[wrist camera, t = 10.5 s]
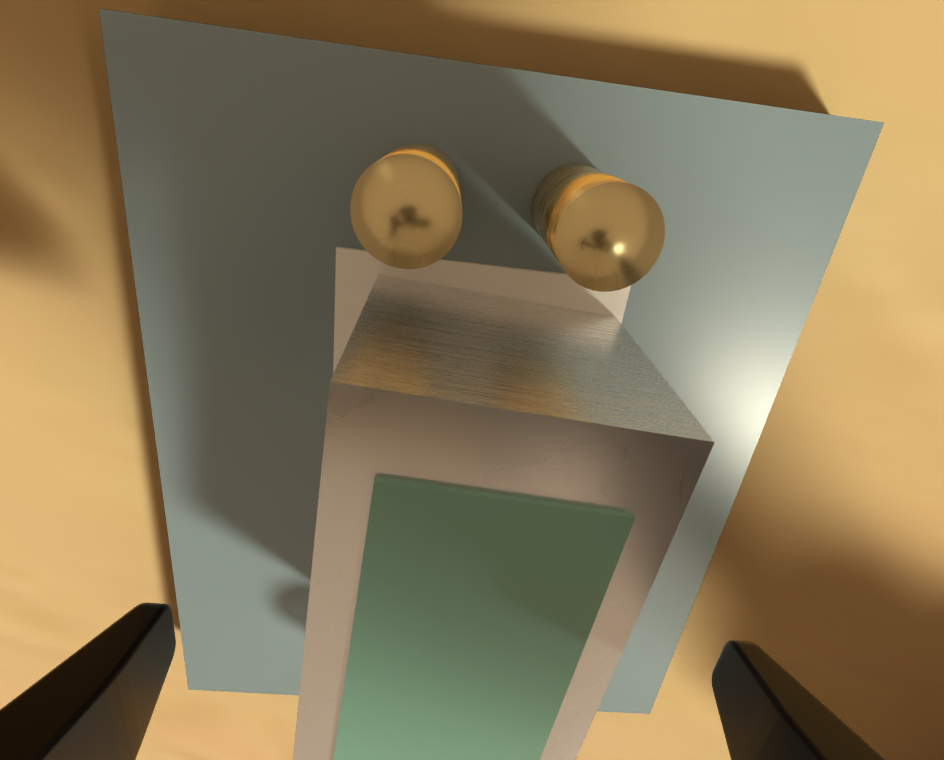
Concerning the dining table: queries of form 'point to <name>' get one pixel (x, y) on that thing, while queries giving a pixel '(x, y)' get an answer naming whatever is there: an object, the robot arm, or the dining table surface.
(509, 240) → the pin tray
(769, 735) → the robot arm
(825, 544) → the dining table surface
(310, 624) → the block
